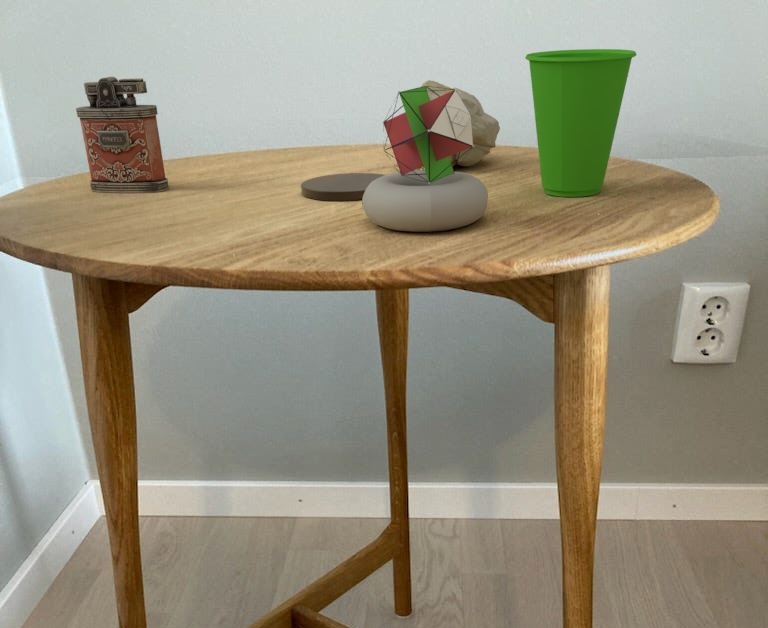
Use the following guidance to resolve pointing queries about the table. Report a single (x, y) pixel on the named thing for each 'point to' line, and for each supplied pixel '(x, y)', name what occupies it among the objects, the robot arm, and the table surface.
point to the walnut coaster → (338, 186)
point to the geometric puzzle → (429, 132)
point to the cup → (577, 115)
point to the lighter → (121, 138)
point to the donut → (425, 201)
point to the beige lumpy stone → (482, 125)
